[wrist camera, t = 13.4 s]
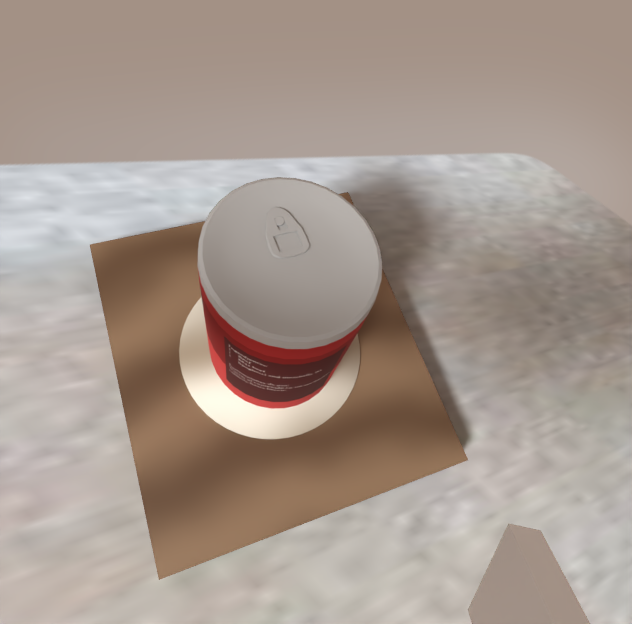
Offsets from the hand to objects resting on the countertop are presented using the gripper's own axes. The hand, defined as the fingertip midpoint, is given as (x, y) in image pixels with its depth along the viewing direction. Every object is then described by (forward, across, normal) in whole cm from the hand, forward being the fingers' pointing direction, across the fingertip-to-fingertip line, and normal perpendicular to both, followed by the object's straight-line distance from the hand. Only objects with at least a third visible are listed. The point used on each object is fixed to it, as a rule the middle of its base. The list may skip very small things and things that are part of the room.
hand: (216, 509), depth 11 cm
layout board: (+20, 0, -6) cm, 21 cm away
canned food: (+18, 0, -4) cm, 19 cm away
